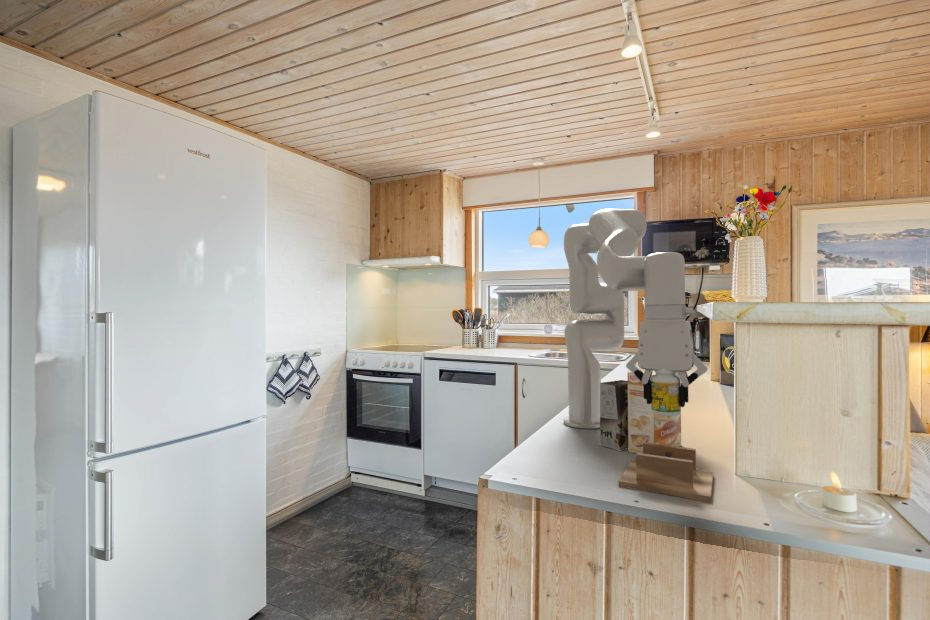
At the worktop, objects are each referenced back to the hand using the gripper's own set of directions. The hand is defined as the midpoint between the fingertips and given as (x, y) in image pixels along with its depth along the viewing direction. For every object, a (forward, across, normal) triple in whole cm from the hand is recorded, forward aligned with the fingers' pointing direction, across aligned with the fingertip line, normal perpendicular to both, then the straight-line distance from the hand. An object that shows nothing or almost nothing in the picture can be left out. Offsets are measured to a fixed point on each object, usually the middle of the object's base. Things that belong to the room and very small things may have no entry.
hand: (665, 403), depth 92 cm
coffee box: (+16, +13, -21) cm, 29 cm away
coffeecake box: (+16, +5, -22) cm, 28 cm away
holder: (+16, 0, 0) cm, 16 cm away
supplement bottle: (+2, 0, 0) cm, 2 cm away
